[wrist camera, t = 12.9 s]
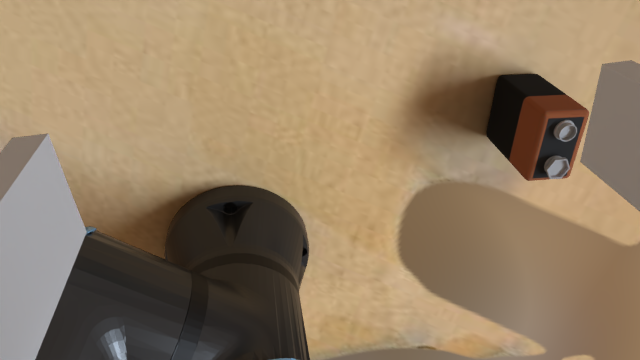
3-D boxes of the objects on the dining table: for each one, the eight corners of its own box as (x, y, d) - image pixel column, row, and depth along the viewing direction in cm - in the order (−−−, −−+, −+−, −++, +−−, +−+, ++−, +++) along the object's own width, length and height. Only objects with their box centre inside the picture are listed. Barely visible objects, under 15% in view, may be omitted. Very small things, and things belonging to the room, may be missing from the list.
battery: (483, 136, 53) (530, 188, 45) (496, 73, 50) (549, 117, 41) (523, 134, 54) (576, 185, 45) (538, 72, 50) (599, 114, 42)
